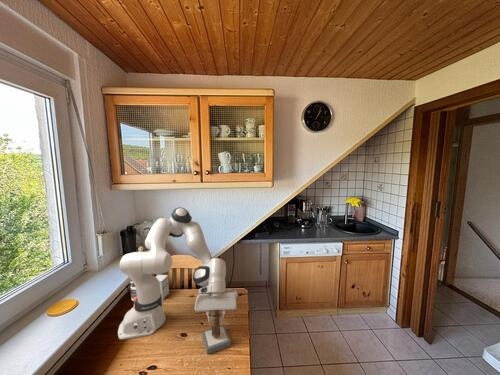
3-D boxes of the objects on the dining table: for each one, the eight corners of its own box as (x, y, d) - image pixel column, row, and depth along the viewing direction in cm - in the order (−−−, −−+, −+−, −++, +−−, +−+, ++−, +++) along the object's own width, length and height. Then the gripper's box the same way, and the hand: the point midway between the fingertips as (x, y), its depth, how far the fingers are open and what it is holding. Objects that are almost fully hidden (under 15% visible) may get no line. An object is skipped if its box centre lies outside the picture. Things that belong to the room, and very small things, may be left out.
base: (207, 354, 97) (207, 349, 96) (202, 336, 107) (202, 331, 106) (230, 345, 101) (230, 340, 101) (224, 329, 111) (224, 324, 111)
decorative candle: (148, 297, 137) (144, 260, 134) (131, 303, 132) (127, 264, 129) (145, 290, 145) (142, 255, 141) (130, 295, 140) (126, 258, 136)
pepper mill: (212, 338, 101) (211, 316, 99) (210, 331, 104) (210, 310, 103) (221, 335, 102) (220, 314, 101) (219, 329, 106) (218, 308, 105)
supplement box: (162, 300, 134) (161, 281, 133) (152, 299, 136) (150, 280, 134) (169, 293, 142) (168, 275, 140) (159, 292, 143) (158, 274, 141)
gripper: (237, 290, 113) (237, 321, 105) (197, 292, 112) (194, 323, 104) (237, 287, 108) (237, 320, 100) (195, 289, 107) (192, 322, 99)
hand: (215, 322), depth 102 cm, fingers closed on pepper mill, 4 cm apart
